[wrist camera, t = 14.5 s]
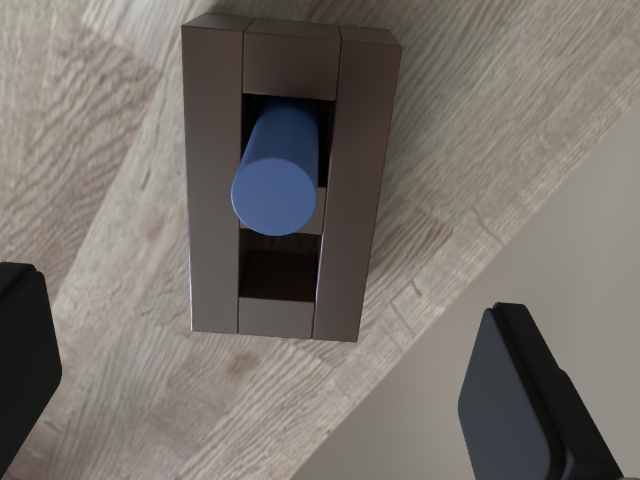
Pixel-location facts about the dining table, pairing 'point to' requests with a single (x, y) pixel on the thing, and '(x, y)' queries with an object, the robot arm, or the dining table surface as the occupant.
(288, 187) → the blue cylinder
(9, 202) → the dining table surface
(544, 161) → the dining table surface
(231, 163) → the holder
